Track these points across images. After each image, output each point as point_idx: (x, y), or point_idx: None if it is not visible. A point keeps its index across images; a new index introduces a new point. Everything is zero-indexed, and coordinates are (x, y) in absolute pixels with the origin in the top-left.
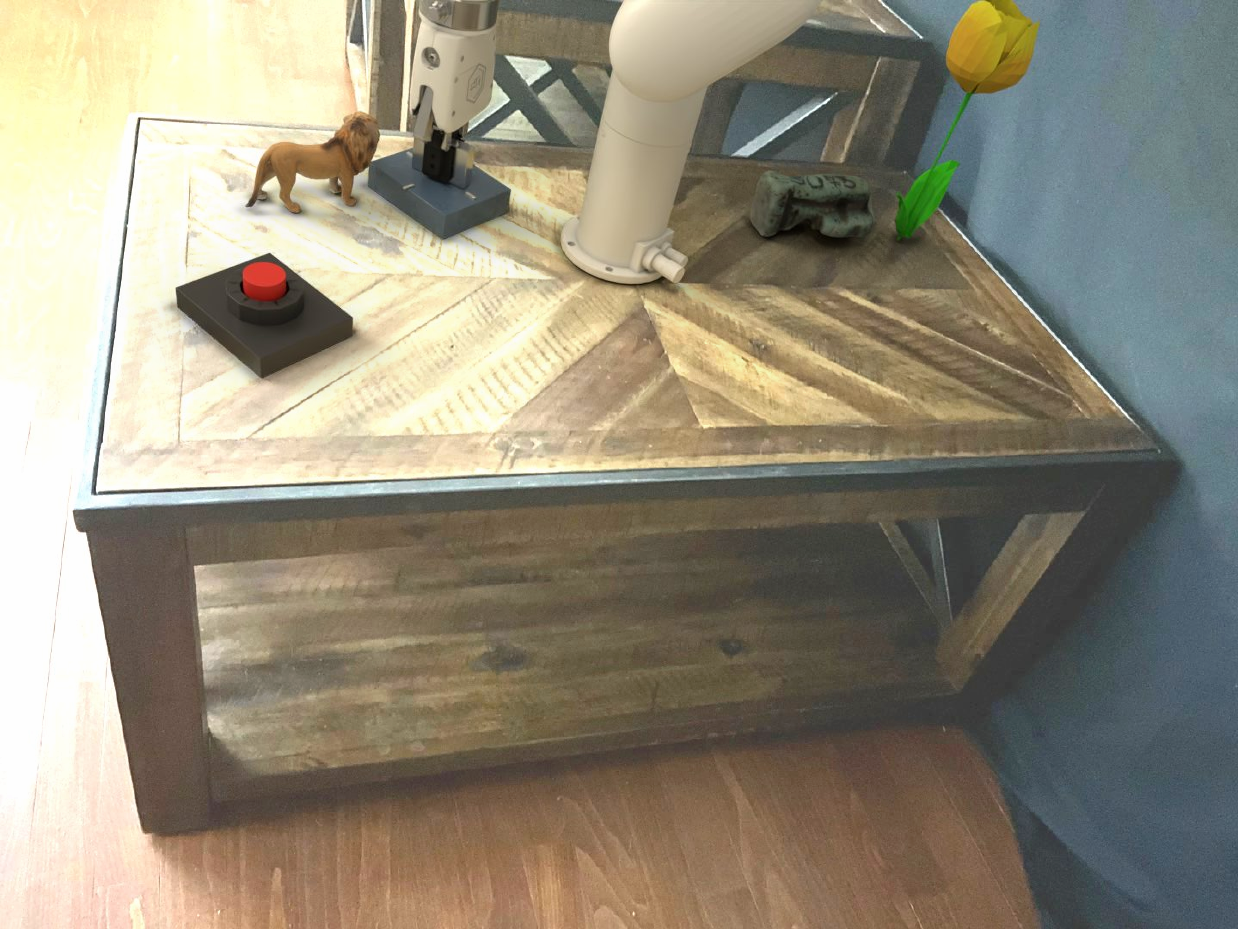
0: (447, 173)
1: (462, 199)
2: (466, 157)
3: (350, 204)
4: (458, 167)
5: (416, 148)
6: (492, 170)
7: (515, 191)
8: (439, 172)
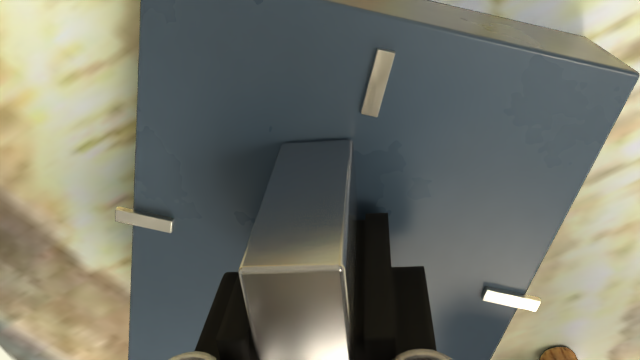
0: (389, 243)
1: (437, 93)
2: (345, 244)
3: (574, 353)
4: (353, 231)
5: None
6: (9, 164)
7: (28, 18)
8: (418, 271)
